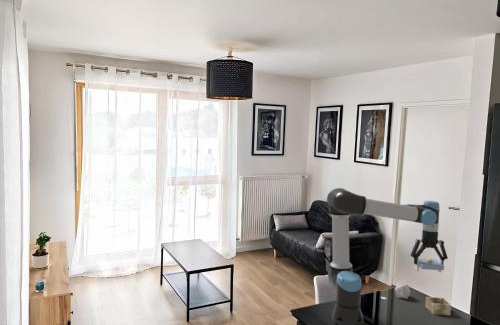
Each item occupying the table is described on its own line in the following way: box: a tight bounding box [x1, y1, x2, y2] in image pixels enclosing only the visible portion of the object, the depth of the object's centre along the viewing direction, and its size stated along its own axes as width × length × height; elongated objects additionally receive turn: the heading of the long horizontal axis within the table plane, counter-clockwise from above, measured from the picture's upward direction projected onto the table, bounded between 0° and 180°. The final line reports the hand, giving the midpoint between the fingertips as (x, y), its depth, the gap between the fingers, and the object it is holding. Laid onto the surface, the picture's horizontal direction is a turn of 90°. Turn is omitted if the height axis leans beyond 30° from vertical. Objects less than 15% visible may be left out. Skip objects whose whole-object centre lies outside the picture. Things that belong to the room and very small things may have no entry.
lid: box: [418, 257, 445, 271], centre depth 193 cm, size 11×11×4 cm
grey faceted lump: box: [394, 282, 412, 300], centre depth 211 cm, size 8×9×10 cm
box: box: [425, 296, 452, 316], centre depth 194 cm, size 9×9×6 cm
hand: (428, 271), depth 193 cm, fingers closed on lid, 11 cm apart
